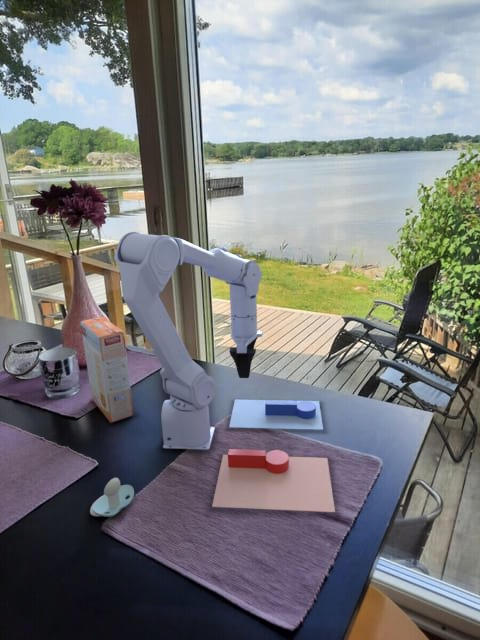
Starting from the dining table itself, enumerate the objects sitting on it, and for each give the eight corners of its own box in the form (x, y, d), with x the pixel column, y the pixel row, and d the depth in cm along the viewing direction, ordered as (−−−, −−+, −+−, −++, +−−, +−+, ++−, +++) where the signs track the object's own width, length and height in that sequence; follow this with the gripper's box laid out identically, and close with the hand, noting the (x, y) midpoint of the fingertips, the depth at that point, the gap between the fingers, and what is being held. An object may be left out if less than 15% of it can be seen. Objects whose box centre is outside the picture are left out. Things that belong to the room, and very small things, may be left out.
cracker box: (135, 416, 101) (125, 330, 94) (110, 424, 98) (97, 337, 91) (115, 392, 112) (104, 314, 106) (91, 399, 109) (78, 320, 102)
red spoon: (227, 472, 81) (226, 459, 80) (230, 457, 85) (229, 444, 84) (288, 474, 79) (289, 461, 79) (288, 459, 84) (288, 446, 83)
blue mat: (229, 429, 95) (228, 427, 95) (235, 401, 106) (234, 399, 106) (323, 432, 93) (323, 429, 93) (319, 403, 104) (319, 400, 104)
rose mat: (212, 509, 73) (211, 506, 73) (223, 456, 86) (223, 454, 86) (335, 515, 71) (335, 512, 70) (327, 460, 84) (327, 457, 84)
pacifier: (82, 514, 73) (105, 528, 69) (75, 483, 71) (99, 496, 68) (116, 488, 78) (140, 500, 75) (111, 458, 77) (135, 469, 73)
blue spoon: (265, 418, 97) (265, 407, 96) (265, 408, 102) (265, 397, 101) (316, 419, 96) (316, 408, 95) (315, 409, 100) (315, 398, 100)
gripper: (260, 324, 89) (261, 384, 94) (263, 303, 103) (264, 357, 107) (225, 324, 90) (228, 384, 94) (233, 303, 103) (235, 356, 108)
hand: (245, 369), depth 101 cm, fingers open, 7 cm apart
